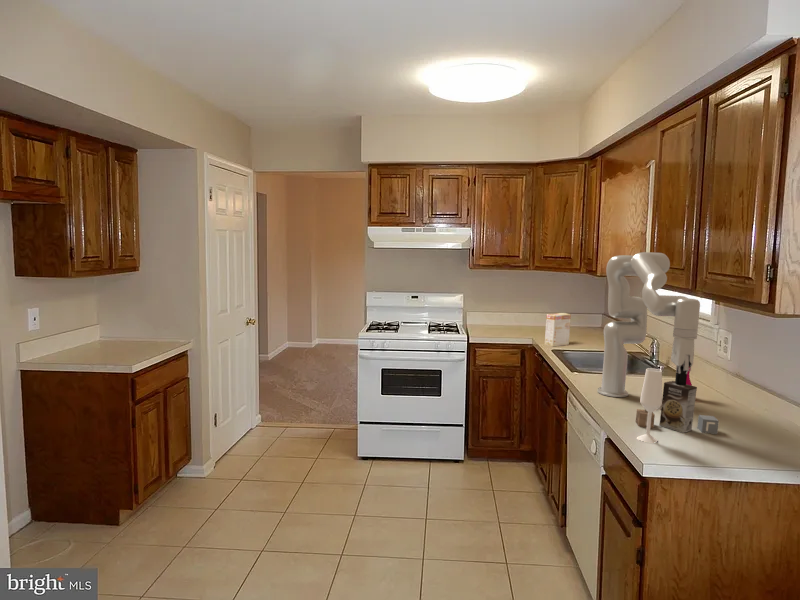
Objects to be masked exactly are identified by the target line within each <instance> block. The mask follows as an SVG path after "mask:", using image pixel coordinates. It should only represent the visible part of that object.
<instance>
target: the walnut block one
mask: <svg viewBox="0 0 800 600" xmlns="http://www.w3.org/2000/svg"><path fill="white" fill-rule="evenodd" d="M647 418H648V411H647V410H646V409H645V408H644V409H641V408H640V409H639V408H636V414H635V423H636V426H638V427H641V428H647ZM654 425H655V413H654V412H652V416H651V427H650V429H651V428H652V429H654Z"/></svg>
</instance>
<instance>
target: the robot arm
mask: <svg viewBox="0 0 800 600" xmlns="http://www.w3.org/2000/svg"><path fill="white" fill-rule="evenodd" d="M670 266H671V262H670V259H669V257H668V256H667V255H666V254H665V253H664V252H663V253H662V252H650V251H649V252H647V251H644V252H643V251H642V252H638V253H636V254H634V255H630V254H629V255H628V254H627V255H625V254H624V255H623V254H622V255H615V256H612V257H611V258H610V259H609V260H608V262H607V263H606V268H605V271H606V272H605V273H606V278H607V283H608V291H607V293H608V295H607V296H608V299H607V302H608V303H607V311H608V316H610V317H612V318H614V319H630V321H625V320H624V321H622V320H621V321H620V320H617V321H615V320H614V321H610V322H608V323H606V324H605V325H604V327H603V340H604V341H603V342H604V347H603V348H604V349H603V350H604V351H603V362H602V363H603V365H602V376H601V377H602V378H601V386H600V387H598V388H597V390H596V391H597V393H598V394H600V395H603V396H606V397H611V398H626V397H628V396H629V391H627V390H626V379H627V370H628V368H627V367H628V356H629V355H628V351H627V350H626V348H625V346H624V345H627V344H628V345H629V344H630V345H631V344H633V345H638V344H642V343H644V341H646V337H647V329H648V328H647V327H648V326H647V325H648V324H647V323H648V311H649V312H650V314H652V315H654V316H657V317H674V321H673V334H672V337H673V338H674V339H673V340H672V341H673V343H672V348H671V354H670V355H671V356H670V361H671V362H672V364H674V365H675V378H674V379H675V380H674V381H675V383H676V384H677V385H686V380H687V372H688V370H689V367H691V368H692V367H693V365H694V355H695V340H697V339H698V332H699V331H698V330H699V320H700V310H701V309H700V308H701V301H699V300H698V299H695V298H688V297H686V296H682V295H663V294H662V295H661V294H659V293H658V292H657V291H658V290H660V289H661V288H663V286H665V285H666V284H667V280H668V277H667V274H666V273H667V272H668V271H669V270H670ZM625 276H626V277H628V276H629V277H638V278H639V279H640V281H641V282H642V285H643V287H642V289H641V290H642V291H641V297H640V296H633V295H632V296H631V286H630V283H629V281H628V279H627V278H626V277H625Z"/></svg>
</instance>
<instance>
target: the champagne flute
mask: <svg viewBox="0 0 800 600" xmlns="http://www.w3.org/2000/svg"><path fill="white" fill-rule="evenodd" d="M662 374H663V371H662V369H657V368H655V367H654V368H653V367H652V368H651V367H650V368H649V367H648V368H646V369H645V374H644V377H643V379H644V380H643V385H642V388H641V394H640V398H639V399H640V400H639V401H640V405H641V406H642V408H643V409H644V410H645V409H646V410H647V411H648V418H647V427H645V428H646V431H645V433H644V434H642V435H639V436H637V437H636V440H638V441H639V440H641V441H640V442H642V441H644V442H643V443H645V442H650V443H649V444H655V443H654V442H657V440H658V439H656V438H655V437H654V436H653V435H651V428H650V427H651V416H652V412H653V413H654V412H655V411H656V410H658V409H661V407H662V398H663V375H662Z"/></svg>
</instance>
